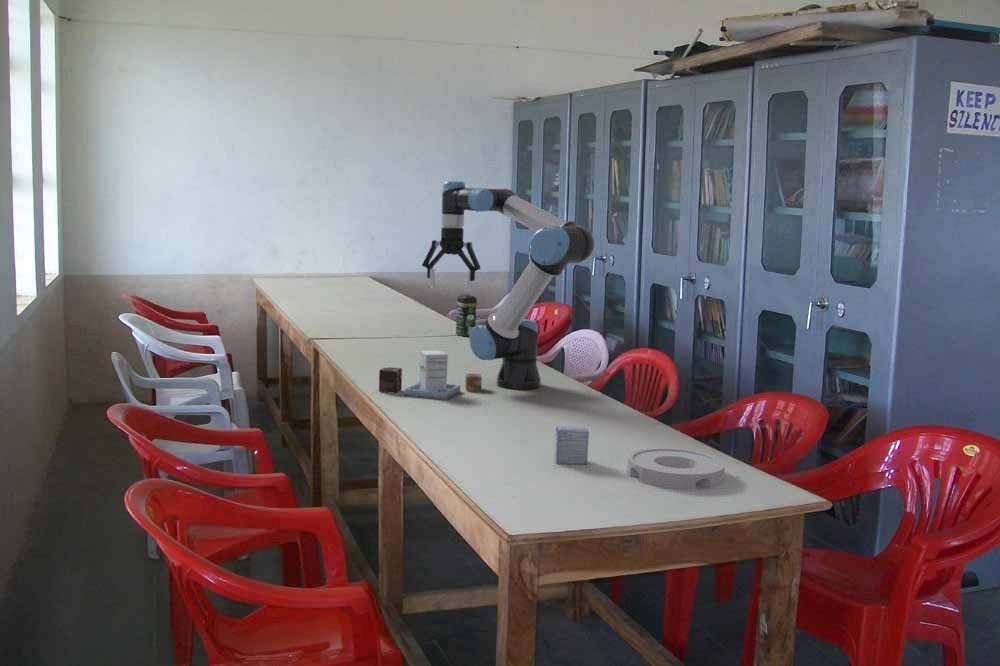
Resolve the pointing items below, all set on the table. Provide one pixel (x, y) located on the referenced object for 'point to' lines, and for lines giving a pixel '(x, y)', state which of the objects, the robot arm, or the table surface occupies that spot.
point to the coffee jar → (466, 314)
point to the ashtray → (675, 468)
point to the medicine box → (571, 445)
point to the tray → (418, 392)
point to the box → (390, 379)
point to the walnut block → (473, 382)
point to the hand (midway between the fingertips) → (450, 289)
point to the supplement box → (433, 371)
